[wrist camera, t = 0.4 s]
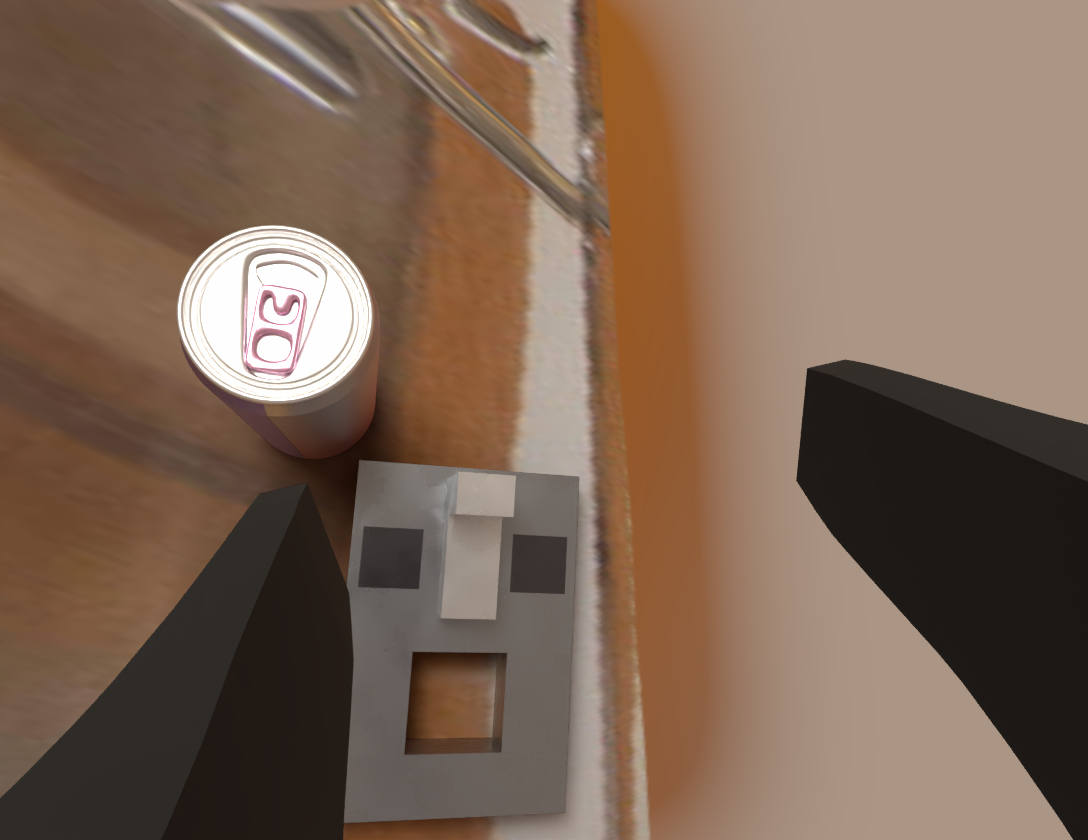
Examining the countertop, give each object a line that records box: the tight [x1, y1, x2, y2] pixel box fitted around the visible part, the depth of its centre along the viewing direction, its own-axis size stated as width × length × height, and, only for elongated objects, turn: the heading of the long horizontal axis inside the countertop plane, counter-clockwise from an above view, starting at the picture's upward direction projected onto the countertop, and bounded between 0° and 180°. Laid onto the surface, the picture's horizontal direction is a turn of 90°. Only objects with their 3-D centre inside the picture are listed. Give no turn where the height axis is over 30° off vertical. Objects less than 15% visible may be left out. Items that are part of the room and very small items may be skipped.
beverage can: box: [176, 225, 380, 459], centre depth 27 cm, size 6×6×15 cm
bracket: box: [437, 472, 516, 620], centre depth 31 cm, size 6×2×4 cm, turn 178°
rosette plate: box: [344, 460, 579, 823], centre depth 33 cm, size 16×11×2 cm
